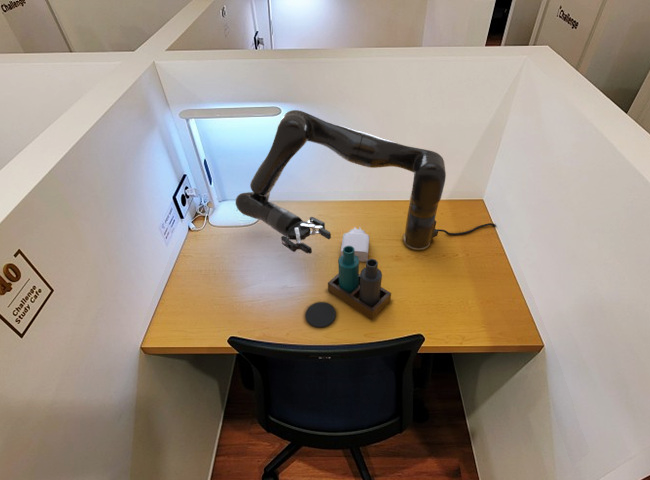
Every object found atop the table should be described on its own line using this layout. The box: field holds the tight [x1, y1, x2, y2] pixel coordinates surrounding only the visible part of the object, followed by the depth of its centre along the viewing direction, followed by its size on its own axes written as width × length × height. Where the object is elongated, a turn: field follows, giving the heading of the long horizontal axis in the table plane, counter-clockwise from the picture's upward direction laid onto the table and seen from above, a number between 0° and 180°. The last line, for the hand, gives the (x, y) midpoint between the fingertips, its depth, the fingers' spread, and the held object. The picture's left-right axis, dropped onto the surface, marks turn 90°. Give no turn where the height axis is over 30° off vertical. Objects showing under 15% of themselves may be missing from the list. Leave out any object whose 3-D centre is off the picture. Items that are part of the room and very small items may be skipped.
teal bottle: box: [337, 246, 360, 294], centre depth 110 cm, size 6×6×18 cm
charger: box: [340, 226, 370, 263], centre depth 128 cm, size 5×9×15 cm
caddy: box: [327, 272, 392, 321], centre depth 113 cm, size 9×17×4 cm, turn 49°
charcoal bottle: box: [358, 258, 383, 308], centre depth 106 cm, size 6×6×18 cm
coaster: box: [305, 301, 337, 329], centre depth 109 cm, size 9×9×1 cm
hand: (320, 243), depth 111 cm, fingers open, 8 cm apart
